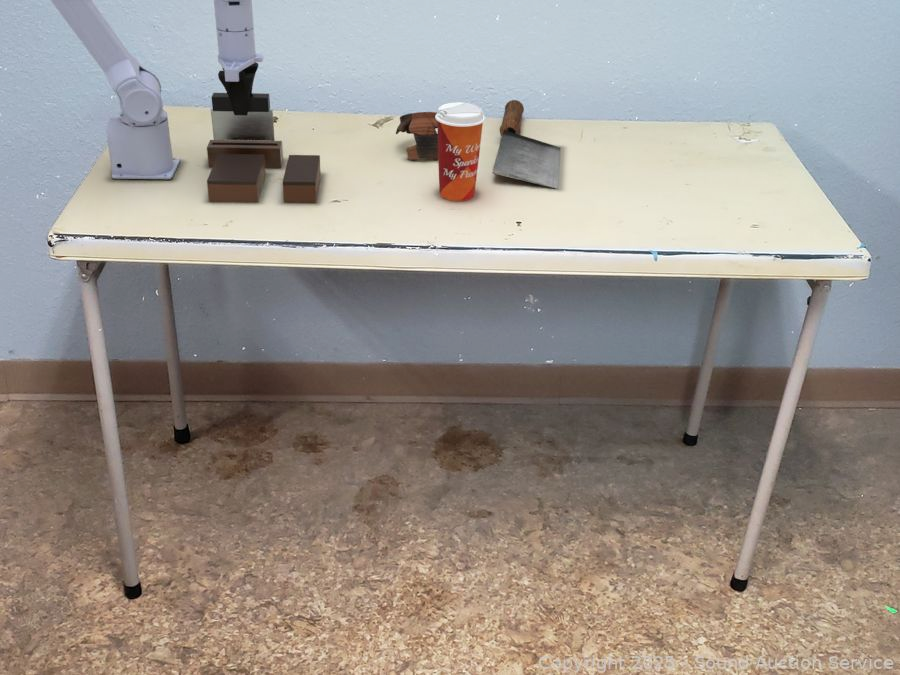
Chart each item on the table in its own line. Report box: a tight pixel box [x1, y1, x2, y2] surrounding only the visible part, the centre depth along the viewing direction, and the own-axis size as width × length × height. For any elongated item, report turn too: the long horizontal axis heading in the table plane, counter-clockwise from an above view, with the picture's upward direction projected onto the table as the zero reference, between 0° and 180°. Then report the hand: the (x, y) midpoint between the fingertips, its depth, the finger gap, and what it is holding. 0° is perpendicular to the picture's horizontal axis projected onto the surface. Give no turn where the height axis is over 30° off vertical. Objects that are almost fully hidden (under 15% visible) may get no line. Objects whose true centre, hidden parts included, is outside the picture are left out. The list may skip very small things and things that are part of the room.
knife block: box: [206, 139, 284, 169], centre depth 160 cm, size 12×4×4 cm, turn 93°
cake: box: [206, 154, 267, 203], centre depth 151 cm, size 8×11×4 cm
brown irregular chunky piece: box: [395, 111, 438, 161], centre depth 167 cm, size 12×10×8 cm
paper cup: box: [435, 102, 486, 202], centre depth 149 cm, size 8×8×14 cm
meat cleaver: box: [491, 99, 562, 190], centre depth 170 cm, size 34×11×4 cm, turn 174°
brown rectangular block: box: [282, 154, 322, 204], centre depth 152 cm, size 5×11×4 cm, turn 3°
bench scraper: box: [210, 92, 276, 141], centre depth 156 cm, size 10×2×8 cm, turn 93°
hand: (242, 111), depth 156 cm, fingers closed on bench scraper, 2 cm apart
